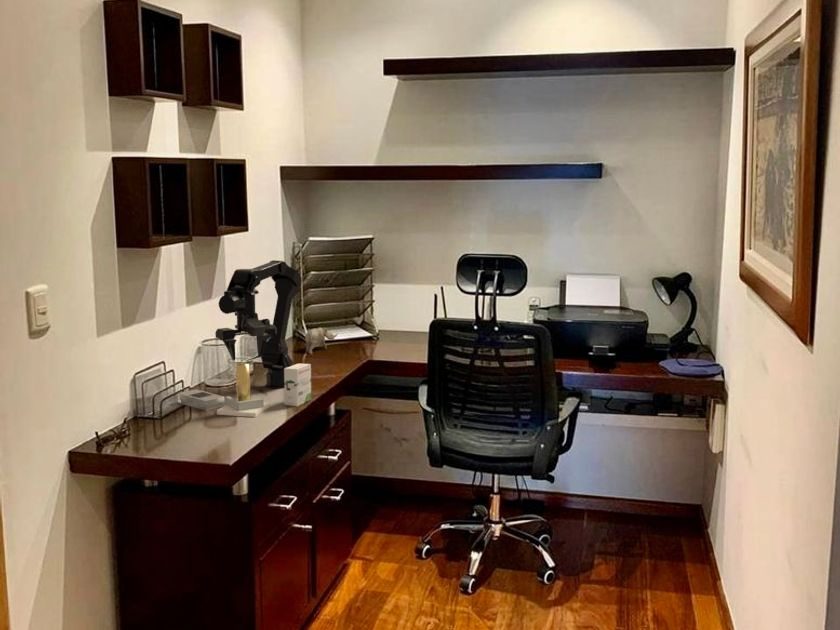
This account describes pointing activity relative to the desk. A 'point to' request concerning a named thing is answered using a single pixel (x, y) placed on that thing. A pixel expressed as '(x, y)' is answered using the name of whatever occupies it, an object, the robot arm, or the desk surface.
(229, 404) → the v block
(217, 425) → the desk surface
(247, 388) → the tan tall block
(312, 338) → the elephant figurine
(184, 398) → the grey socket block
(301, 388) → the ink box
